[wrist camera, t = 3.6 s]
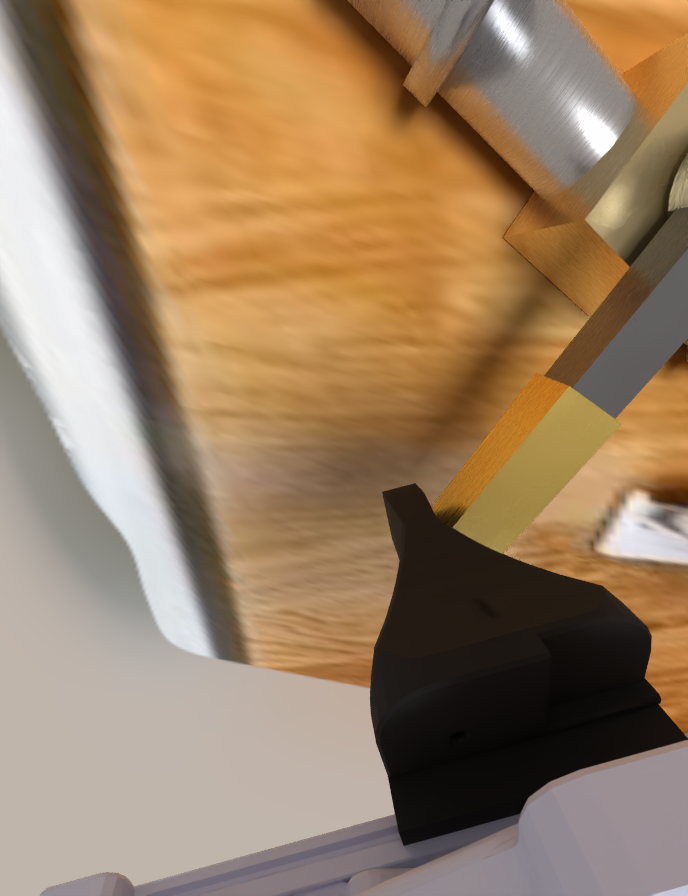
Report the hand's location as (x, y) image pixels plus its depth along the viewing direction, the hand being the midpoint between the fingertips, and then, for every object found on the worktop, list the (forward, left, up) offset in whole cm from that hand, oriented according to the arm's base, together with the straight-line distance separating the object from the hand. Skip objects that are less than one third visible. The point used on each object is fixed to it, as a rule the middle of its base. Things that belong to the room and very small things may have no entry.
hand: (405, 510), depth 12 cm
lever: (+7, -2, 0) cm, 7 cm away
